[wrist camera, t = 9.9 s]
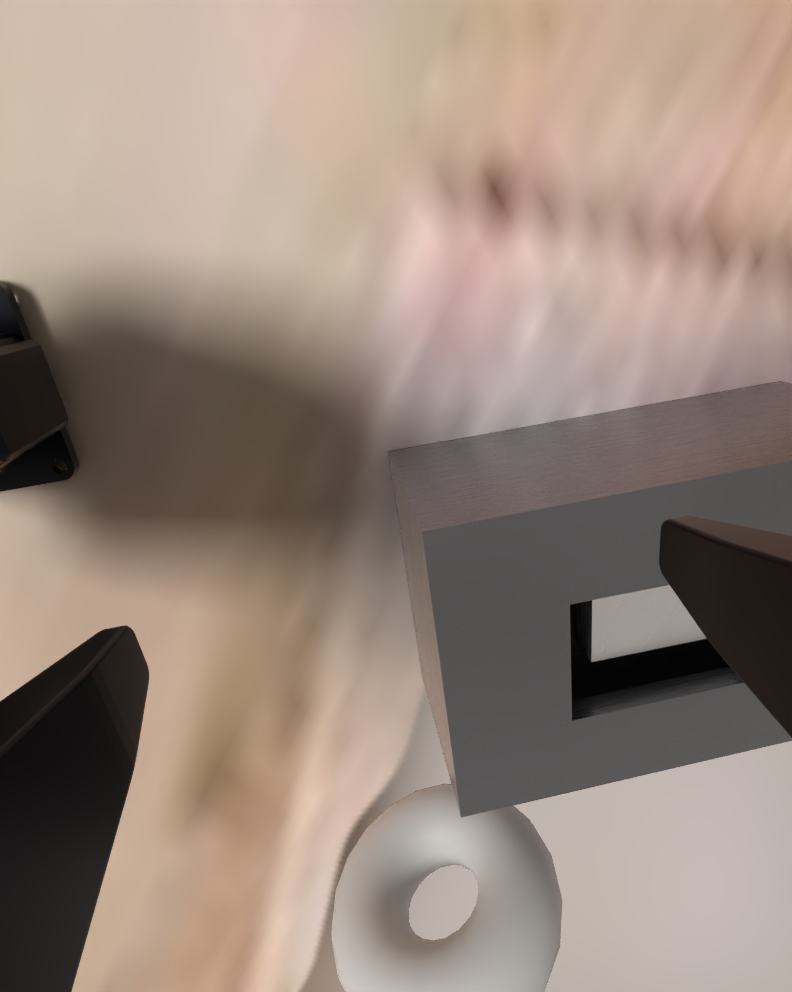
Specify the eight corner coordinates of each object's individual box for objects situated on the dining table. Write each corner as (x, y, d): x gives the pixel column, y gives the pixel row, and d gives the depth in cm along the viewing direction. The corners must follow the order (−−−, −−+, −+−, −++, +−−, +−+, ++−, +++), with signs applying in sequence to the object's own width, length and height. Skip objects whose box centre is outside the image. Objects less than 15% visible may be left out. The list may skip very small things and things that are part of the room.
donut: (502, 737, 27) (598, 972, 18) (521, 781, 29) (619, 1021, 20) (316, 813, 27) (319, 1084, 18) (344, 853, 29) (359, 1124, 20)
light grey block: (536, 584, 23) (591, 662, 19) (534, 532, 22) (592, 600, 18) (659, 561, 24) (743, 630, 19) (663, 508, 23) (752, 568, 18)
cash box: (422, 678, 25) (460, 817, 19) (388, 451, 21) (422, 531, 14) (749, 609, 26) (889, 717, 20) (780, 381, 22) (972, 425, 16)
